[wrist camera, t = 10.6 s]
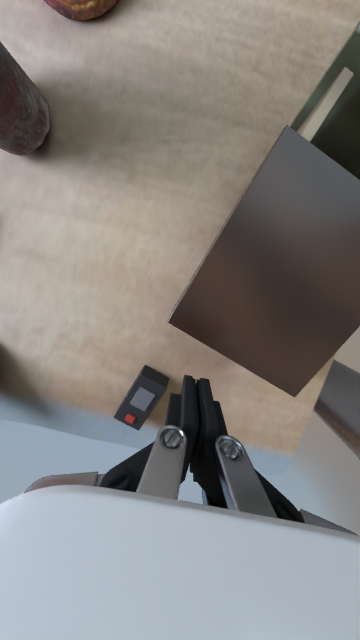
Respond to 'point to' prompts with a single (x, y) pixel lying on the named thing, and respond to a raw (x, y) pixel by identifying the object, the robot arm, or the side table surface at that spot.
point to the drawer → (336, 109)
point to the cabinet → (282, 269)
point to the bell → (81, 8)
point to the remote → (142, 397)
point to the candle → (20, 109)
